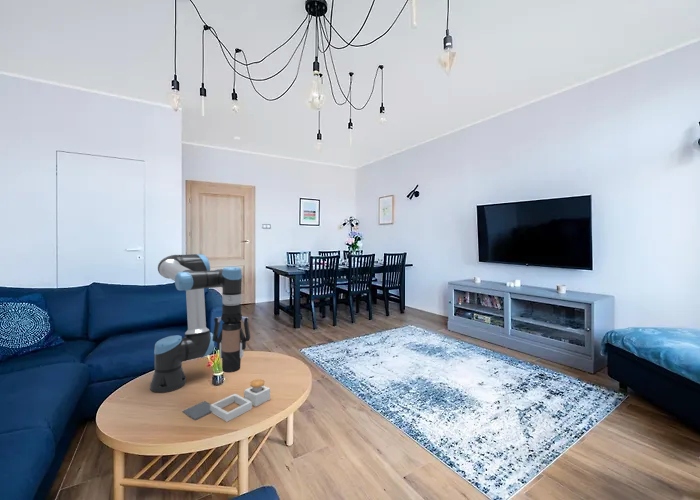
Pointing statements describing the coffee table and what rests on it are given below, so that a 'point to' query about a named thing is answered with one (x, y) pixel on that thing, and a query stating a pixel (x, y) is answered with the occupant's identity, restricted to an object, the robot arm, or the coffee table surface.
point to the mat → (198, 410)
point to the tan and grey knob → (257, 385)
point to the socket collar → (228, 416)
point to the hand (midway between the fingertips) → (231, 357)
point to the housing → (257, 395)
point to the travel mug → (231, 347)
